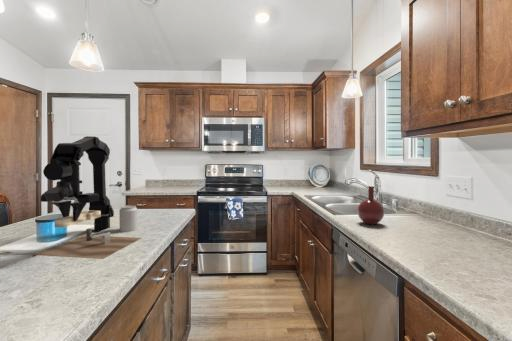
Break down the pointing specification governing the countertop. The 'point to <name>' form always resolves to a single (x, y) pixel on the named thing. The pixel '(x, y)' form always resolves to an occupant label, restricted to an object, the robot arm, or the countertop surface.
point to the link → (83, 217)
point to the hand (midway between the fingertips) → (70, 220)
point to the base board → (88, 247)
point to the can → (128, 218)
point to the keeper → (104, 235)
